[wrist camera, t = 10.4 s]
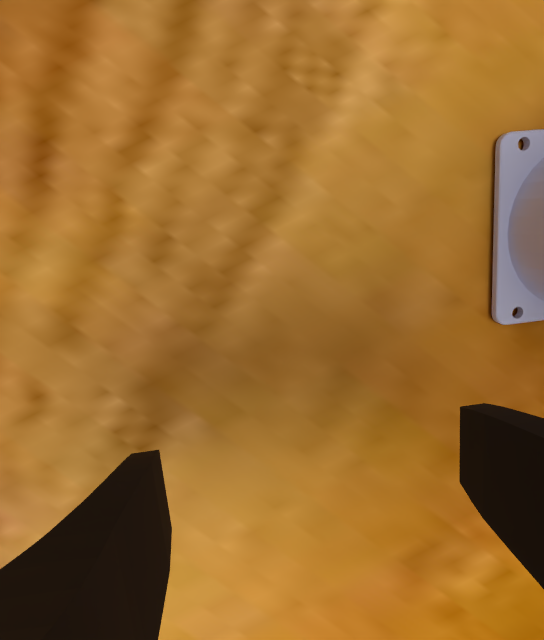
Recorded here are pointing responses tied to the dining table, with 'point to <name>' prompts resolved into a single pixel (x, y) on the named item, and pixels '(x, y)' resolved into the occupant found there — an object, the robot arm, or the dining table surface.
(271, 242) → the dining table surface
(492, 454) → the robot arm
